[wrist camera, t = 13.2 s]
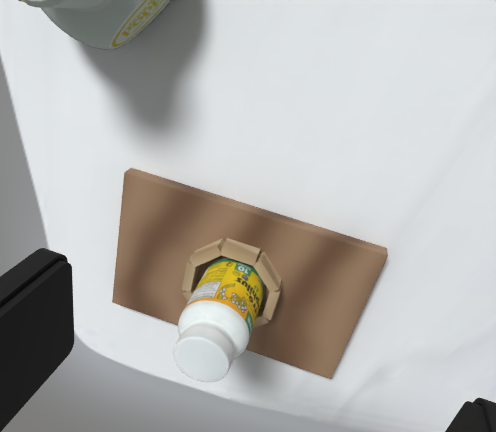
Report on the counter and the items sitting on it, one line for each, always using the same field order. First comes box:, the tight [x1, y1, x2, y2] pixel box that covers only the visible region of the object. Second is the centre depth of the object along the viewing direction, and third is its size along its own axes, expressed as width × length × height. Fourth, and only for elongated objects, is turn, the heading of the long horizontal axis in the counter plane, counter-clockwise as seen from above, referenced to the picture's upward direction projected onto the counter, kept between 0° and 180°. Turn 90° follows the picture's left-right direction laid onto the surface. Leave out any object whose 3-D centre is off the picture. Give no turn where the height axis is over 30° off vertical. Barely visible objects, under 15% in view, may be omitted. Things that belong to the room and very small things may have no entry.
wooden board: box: [112, 168, 388, 379], centre depth 37 cm, size 22×14×3 cm, turn 77°
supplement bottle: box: [173, 257, 265, 382], centre depth 33 cm, size 5×5×10 cm
